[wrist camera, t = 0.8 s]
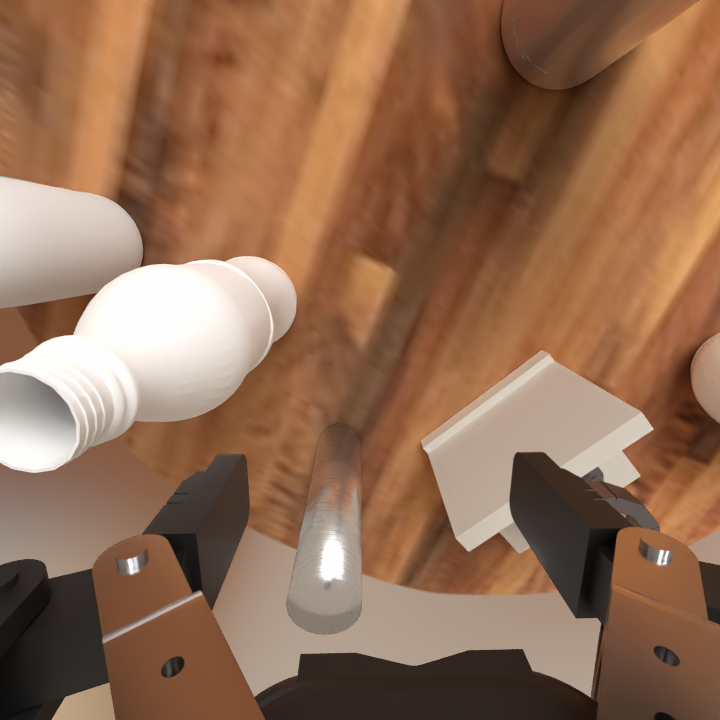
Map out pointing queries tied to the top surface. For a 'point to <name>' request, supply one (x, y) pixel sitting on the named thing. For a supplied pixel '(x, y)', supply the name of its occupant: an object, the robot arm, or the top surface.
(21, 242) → the milk bottle
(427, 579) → the top surface
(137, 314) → the water bottle
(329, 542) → the steel tube
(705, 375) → the lidded jar
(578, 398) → the tube holder
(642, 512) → the collars
